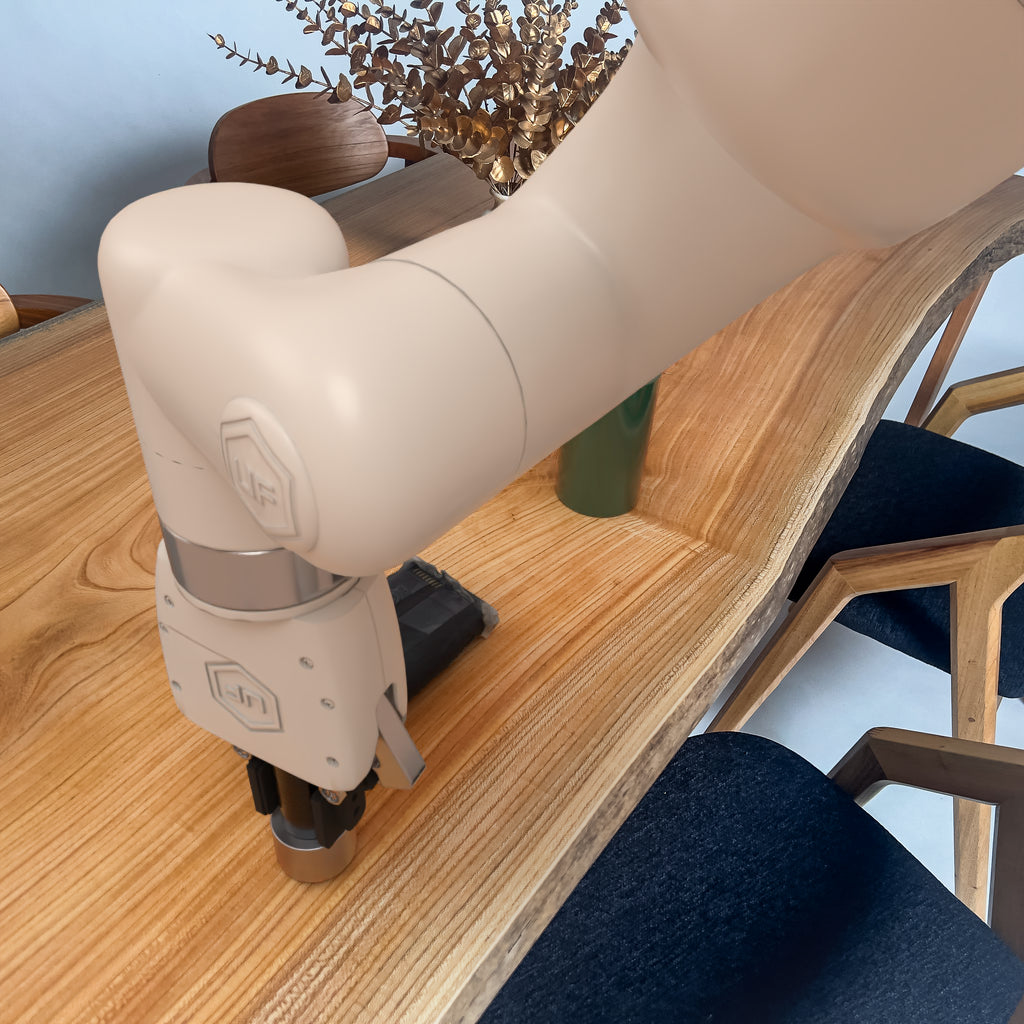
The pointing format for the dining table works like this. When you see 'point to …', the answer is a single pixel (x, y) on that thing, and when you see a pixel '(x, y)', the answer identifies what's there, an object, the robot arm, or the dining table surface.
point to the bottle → (609, 458)
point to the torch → (304, 833)
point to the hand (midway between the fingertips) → (311, 806)
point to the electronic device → (435, 620)
